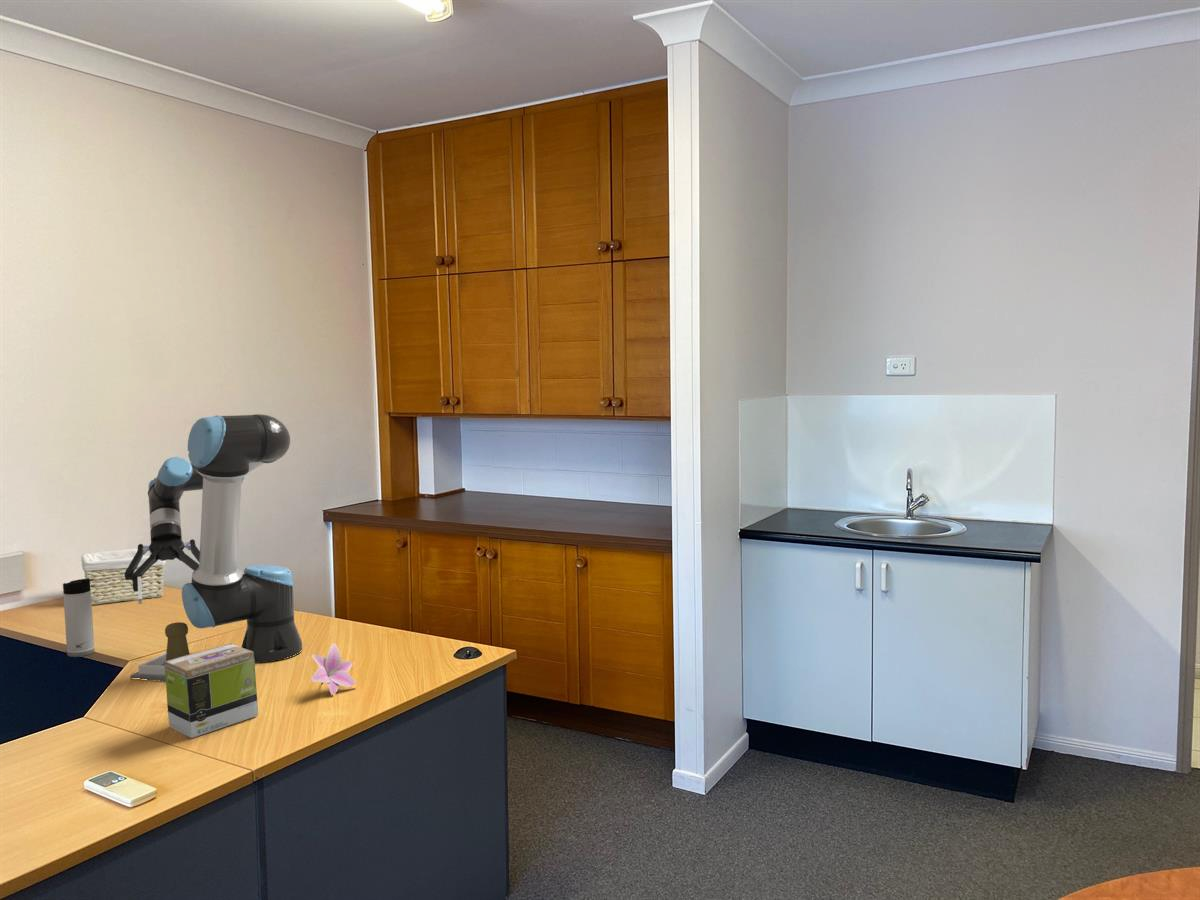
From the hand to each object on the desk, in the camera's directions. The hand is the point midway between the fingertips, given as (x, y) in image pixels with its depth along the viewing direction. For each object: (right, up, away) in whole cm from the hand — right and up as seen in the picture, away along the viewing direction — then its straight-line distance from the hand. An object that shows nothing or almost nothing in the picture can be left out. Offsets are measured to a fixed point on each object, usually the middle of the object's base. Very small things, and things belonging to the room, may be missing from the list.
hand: (169, 598), depth 229 cm
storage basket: (-45, -10, +63) cm, 78 cm away
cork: (+6, -16, -9) cm, 19 cm away
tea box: (+29, -20, -41) cm, 54 cm away
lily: (+49, -18, -23) cm, 57 cm away
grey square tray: (+5, -17, -9) cm, 20 cm away
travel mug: (-26, -16, +5) cm, 31 cm away
